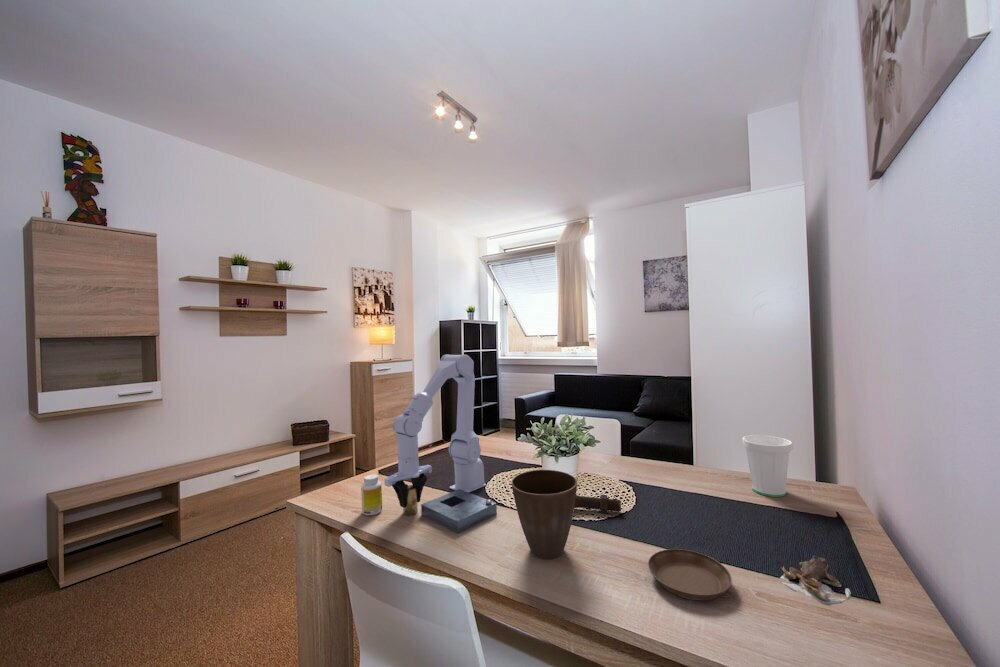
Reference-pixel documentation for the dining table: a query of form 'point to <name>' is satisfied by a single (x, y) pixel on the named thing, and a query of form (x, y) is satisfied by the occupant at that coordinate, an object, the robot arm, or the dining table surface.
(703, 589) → the saucer
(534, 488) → the plant pot
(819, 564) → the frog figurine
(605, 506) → the bolt
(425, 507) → the jig
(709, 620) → the dining table surface
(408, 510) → the bushing
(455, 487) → the robot arm
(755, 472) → the cup
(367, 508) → the supplement bottle
